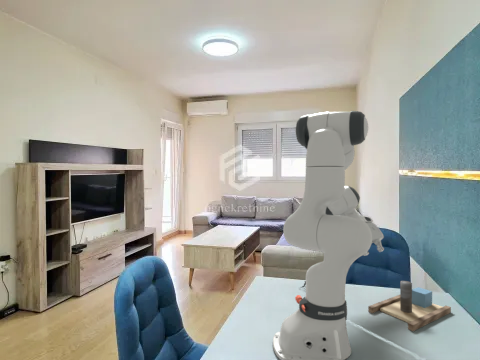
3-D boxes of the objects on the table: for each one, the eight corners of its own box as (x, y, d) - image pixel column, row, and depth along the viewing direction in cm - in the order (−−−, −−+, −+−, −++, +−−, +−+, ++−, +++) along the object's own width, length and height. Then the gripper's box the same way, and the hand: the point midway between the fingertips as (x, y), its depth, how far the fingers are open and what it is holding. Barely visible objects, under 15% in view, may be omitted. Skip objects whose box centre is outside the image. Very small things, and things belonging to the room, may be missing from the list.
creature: (297, 289, 134) (305, 292, 126) (295, 277, 135) (304, 279, 128) (312, 287, 136) (321, 290, 129) (311, 275, 137) (320, 277, 130)
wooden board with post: (413, 325, 97) (413, 291, 97) (380, 310, 108) (380, 280, 107) (444, 310, 107) (444, 280, 107) (411, 298, 118) (411, 271, 118)
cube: (424, 308, 107) (424, 294, 107) (411, 303, 111) (410, 289, 111) (432, 304, 110) (432, 291, 110) (418, 300, 114) (418, 287, 114)
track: (413, 334, 94) (413, 325, 94) (368, 313, 107) (368, 306, 107) (450, 314, 106) (450, 307, 106) (406, 299, 120) (406, 292, 119)
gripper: (340, 222, 117) (362, 252, 109) (373, 217, 127) (395, 244, 119) (332, 231, 121) (352, 261, 113) (364, 226, 131) (385, 253, 123)
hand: (374, 252), depth 116 cm, fingers open, 8 cm apart
